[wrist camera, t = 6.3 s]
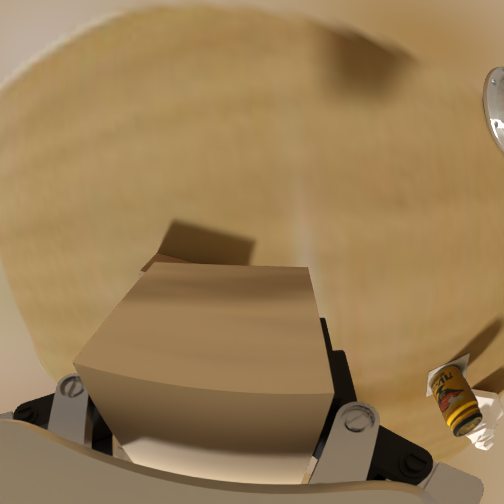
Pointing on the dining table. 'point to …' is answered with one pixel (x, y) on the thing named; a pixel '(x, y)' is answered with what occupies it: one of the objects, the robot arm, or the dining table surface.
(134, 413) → the oak cube
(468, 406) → the condiment
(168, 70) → the dining table surface
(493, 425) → the white faceted lump
